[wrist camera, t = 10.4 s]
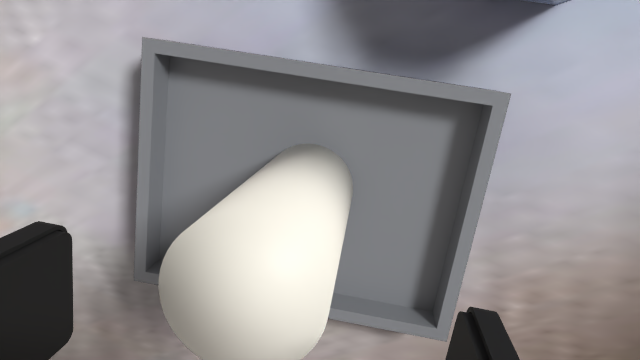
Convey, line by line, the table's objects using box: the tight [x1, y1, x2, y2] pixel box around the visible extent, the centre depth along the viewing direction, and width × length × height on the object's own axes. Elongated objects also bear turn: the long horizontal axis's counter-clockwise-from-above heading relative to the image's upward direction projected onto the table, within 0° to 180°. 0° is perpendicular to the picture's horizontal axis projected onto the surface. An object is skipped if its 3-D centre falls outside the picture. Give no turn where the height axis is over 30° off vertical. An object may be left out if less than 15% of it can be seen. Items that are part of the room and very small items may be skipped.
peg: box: [159, 144, 353, 360], centre depth 16 cm, size 4×4×11 cm
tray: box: [134, 37, 511, 342], centre depth 21 cm, size 16×12×2 cm
